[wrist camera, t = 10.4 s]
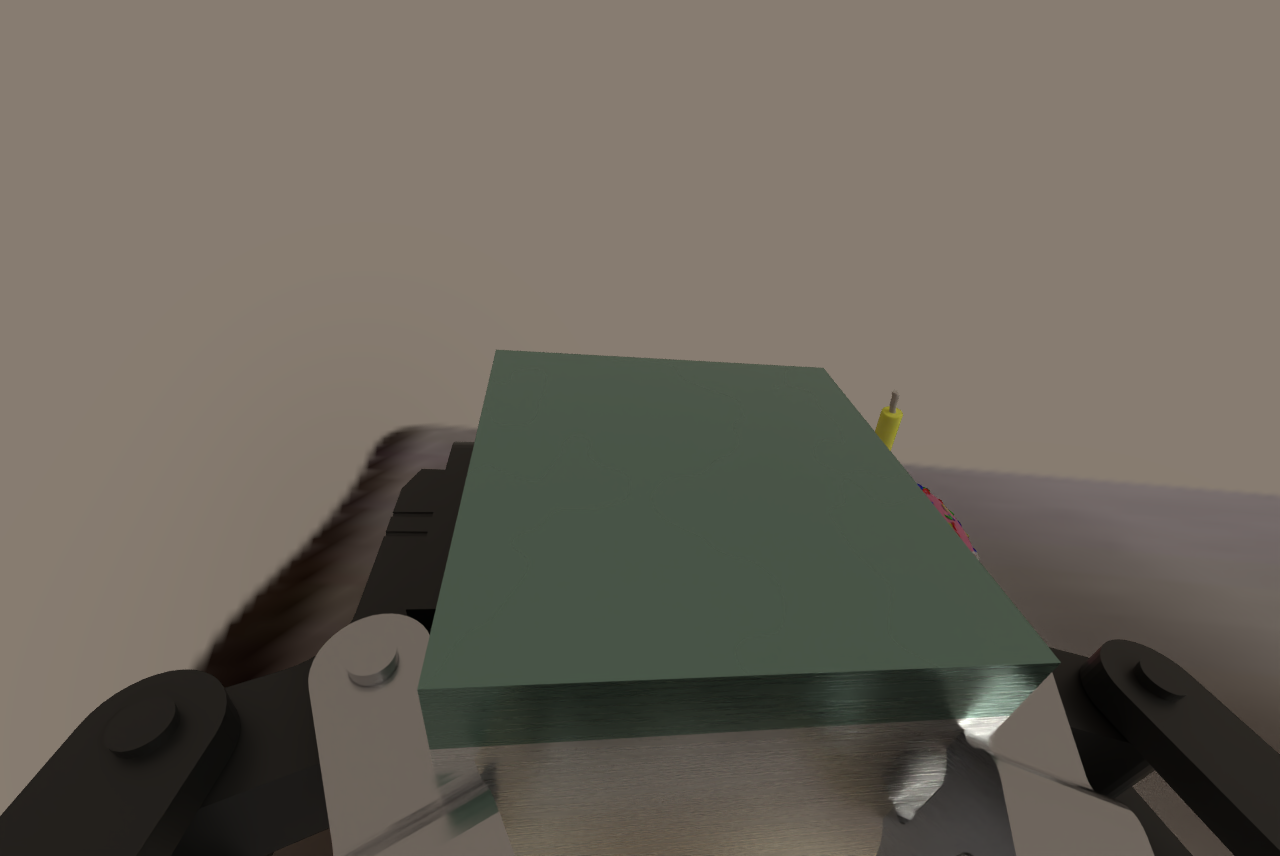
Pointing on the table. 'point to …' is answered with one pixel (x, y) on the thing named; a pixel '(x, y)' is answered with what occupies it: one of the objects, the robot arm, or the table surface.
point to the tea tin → (705, 615)
